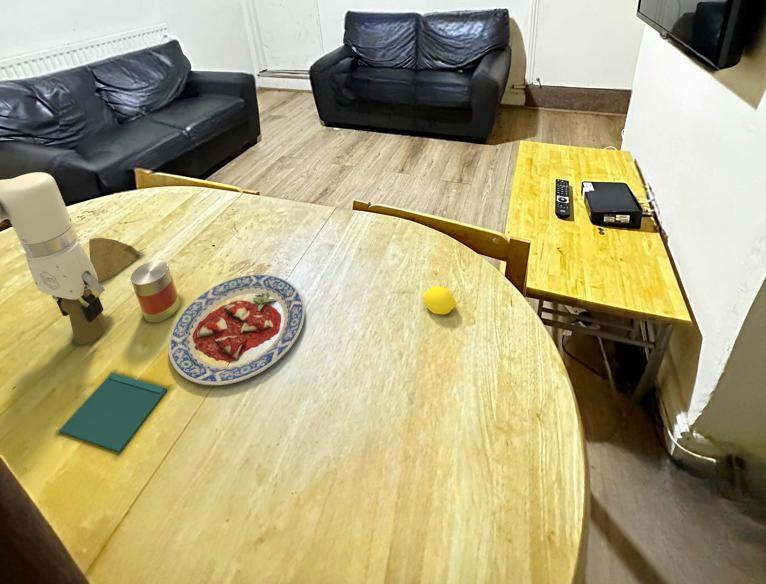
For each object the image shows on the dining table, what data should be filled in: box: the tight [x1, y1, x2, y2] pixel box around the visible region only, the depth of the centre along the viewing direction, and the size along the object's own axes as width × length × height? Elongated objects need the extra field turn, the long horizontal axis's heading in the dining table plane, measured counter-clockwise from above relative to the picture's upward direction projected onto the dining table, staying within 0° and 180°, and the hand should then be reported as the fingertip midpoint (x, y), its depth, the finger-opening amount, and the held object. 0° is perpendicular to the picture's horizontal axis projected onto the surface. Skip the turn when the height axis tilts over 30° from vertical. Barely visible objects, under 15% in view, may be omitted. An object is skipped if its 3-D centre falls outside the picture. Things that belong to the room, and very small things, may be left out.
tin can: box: [130, 259, 181, 323], centre depth 86 cm, size 7×7×11 cm
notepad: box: [58, 372, 168, 454], centre depth 68 cm, size 12×10×1 cm
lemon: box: [422, 285, 458, 316], centre depth 85 cm, size 7×5×5 cm
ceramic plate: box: [167, 274, 306, 386], centre depth 82 cm, size 26×26×3 cm
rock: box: [88, 237, 142, 284], centre depth 99 cm, size 11×9×10 cm
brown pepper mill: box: [61, 285, 110, 345], centre depth 81 cm, size 6×6×11 cm
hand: (83, 312), depth 81 cm, fingers closed on brown pepper mill, 5 cm apart
